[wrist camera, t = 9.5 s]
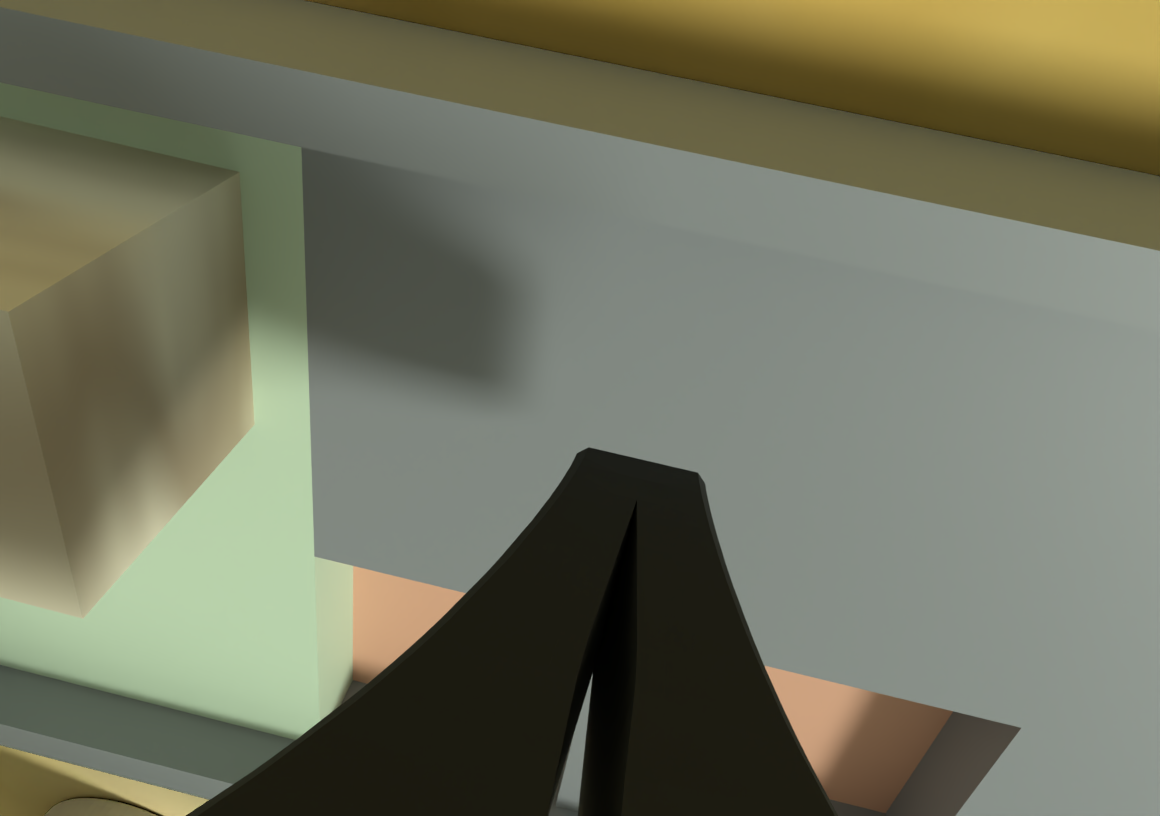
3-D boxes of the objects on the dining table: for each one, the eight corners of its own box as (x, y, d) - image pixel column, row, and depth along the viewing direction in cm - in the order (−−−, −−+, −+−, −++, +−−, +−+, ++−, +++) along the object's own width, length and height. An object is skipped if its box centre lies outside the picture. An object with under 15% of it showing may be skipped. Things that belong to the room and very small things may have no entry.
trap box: (1141, 887, 18) (1206, 1059, 16) (-6, 600, 20) (-122, 713, 17) (1772, 302, 10) (2127, 454, 8) (-254, -114, 12) (-546, -108, 9)
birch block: (254, 424, 13) (82, 618, 10) (8, 364, 13) (-243, 533, 10) (239, 171, 11) (8, 311, 7) (-57, 103, 11) (-413, 209, 7)
